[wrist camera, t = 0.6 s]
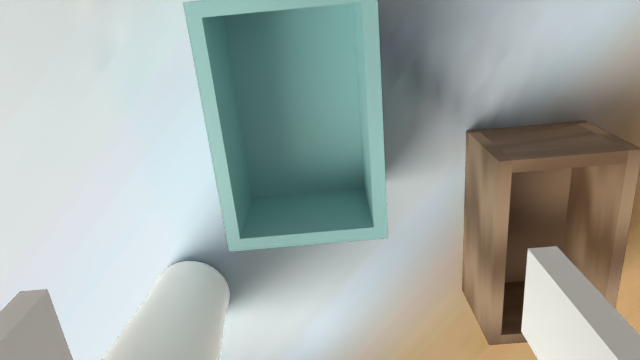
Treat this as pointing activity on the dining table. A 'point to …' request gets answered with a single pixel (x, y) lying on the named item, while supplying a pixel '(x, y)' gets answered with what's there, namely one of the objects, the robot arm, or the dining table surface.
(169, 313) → the drinking glass
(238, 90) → the teal crate
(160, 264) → the dining table surface
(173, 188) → the dining table surface
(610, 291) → the walnut crate
